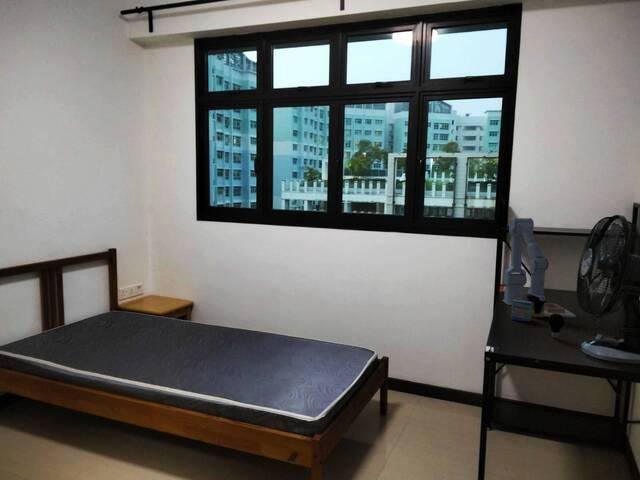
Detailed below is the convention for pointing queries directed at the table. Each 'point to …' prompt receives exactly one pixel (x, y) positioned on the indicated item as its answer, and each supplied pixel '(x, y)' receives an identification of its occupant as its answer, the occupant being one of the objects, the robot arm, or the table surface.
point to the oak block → (537, 314)
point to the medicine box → (521, 310)
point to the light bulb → (556, 324)
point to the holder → (556, 310)
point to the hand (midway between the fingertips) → (535, 312)
